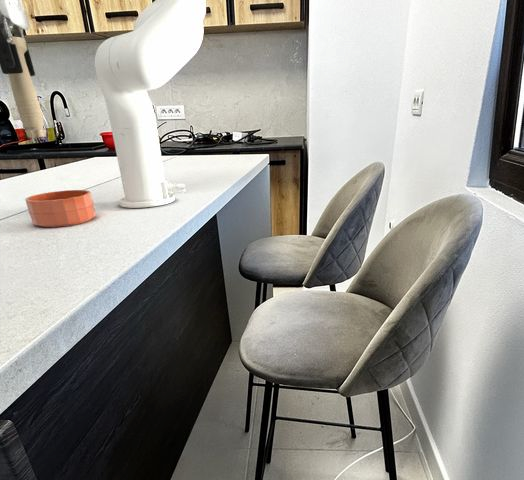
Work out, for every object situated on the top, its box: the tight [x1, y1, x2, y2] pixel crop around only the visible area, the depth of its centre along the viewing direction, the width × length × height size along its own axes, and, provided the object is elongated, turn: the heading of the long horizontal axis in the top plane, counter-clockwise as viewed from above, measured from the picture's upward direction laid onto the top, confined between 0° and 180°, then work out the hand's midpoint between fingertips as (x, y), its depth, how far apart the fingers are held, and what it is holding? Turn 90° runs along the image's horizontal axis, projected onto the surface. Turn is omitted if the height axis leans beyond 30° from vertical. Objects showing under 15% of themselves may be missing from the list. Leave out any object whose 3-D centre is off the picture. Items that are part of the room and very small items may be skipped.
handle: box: [7, 37, 47, 139], centre depth 77 cm, size 5×6×15 cm
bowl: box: [24, 189, 97, 228], centre depth 86 cm, size 12×12×5 cm
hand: (19, 73), depth 75 cm, fingers closed on handle, 6 cm apart
